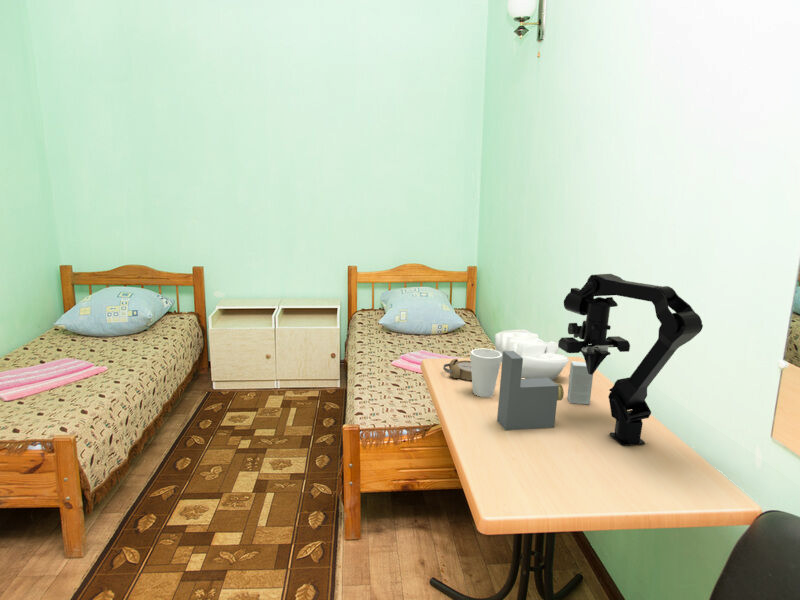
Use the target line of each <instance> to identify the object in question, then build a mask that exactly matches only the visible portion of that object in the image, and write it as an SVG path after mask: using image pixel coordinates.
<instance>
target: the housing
mask: <svg viewBox="0 0 800 600" xmlns="http://www.w3.org/2000/svg"><path fill="white" fill-rule="evenodd" d="M522 364H523V358H522V357H521V356H519V355H518V354H517V353H516V352H514V351H503V359H502V363H501V369H500V370H501V372H500V383H499V394H498V404H497V405H498V406H497V415H496V416H497V418H496V421H497V422H498V423H499V425H500V426H501V427H502V429H504V430H505V431H518V430H519V431H520V430H536V429H537V430H538V429H551V428H552V429H554V428H555V424H556V414H557V413H556V412H557V405H558V401H557V398H558V389H559V386H558V385H557V384H556V383H557V382H555V381H554V380H553V381H552V380H551V379H550V378H527V379H521V374H522Z"/></svg>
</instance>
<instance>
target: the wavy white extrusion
mask: <svg viewBox="0 0 800 600" xmlns="http://www.w3.org/2000/svg"><path fill="white" fill-rule="evenodd" d="M494 338H495V339H494V342H495V343H494V344H495V345H494V346H495V347H494V348H495V349H494V350H496V351H499V352H500V353H502V359H503V351H514V352H516V353H517V354H518V355H519V356H521V357H522V358H523V364H522V374H521V378H525V379H527V378H550V379H551V380H552V381H553V382H554V381H556V380H557V378H558V377H559V376H560V374H561V373H562V371H563V370H564V368H565V367H566V366H567V364H568V363H569V362H570V359H569V357H567V356H566V355H563V354H560V353H558V351H559V349H560V348H559V347H558V343H559V342H555V341H548V342H546V341H544V340H543V339H541V338H539V334H538V333H534V332H531V331H530V330H528V329H507V330H502V331H499V332H496V333H495V334H494Z"/></svg>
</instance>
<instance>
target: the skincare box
mask: <svg viewBox="0 0 800 600" xmlns="http://www.w3.org/2000/svg"><path fill="white" fill-rule="evenodd" d="M569 374H570V377H569V376H568V378H569V379H568V388H567V396H566V397H567V401H568V402H569V404H577V405H578V404H579V405H590V404H591V395H592V387H593V378H594V374H593V375H590V374H588V370H587V366H586V362H585V361H574V360H573V361H570V367H569Z"/></svg>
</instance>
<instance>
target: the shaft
mask: <svg viewBox="0 0 800 600" xmlns="http://www.w3.org/2000/svg"><path fill="white" fill-rule="evenodd" d="M555 383H556V384H557V385H558V386H559V389H558V398H557V402H558V401H562V400H563V399H564V396H565V393H564V391H565V390H564V387H563V385H562V384H561V383H559V382H558V383H557V382H555Z"/></svg>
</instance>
